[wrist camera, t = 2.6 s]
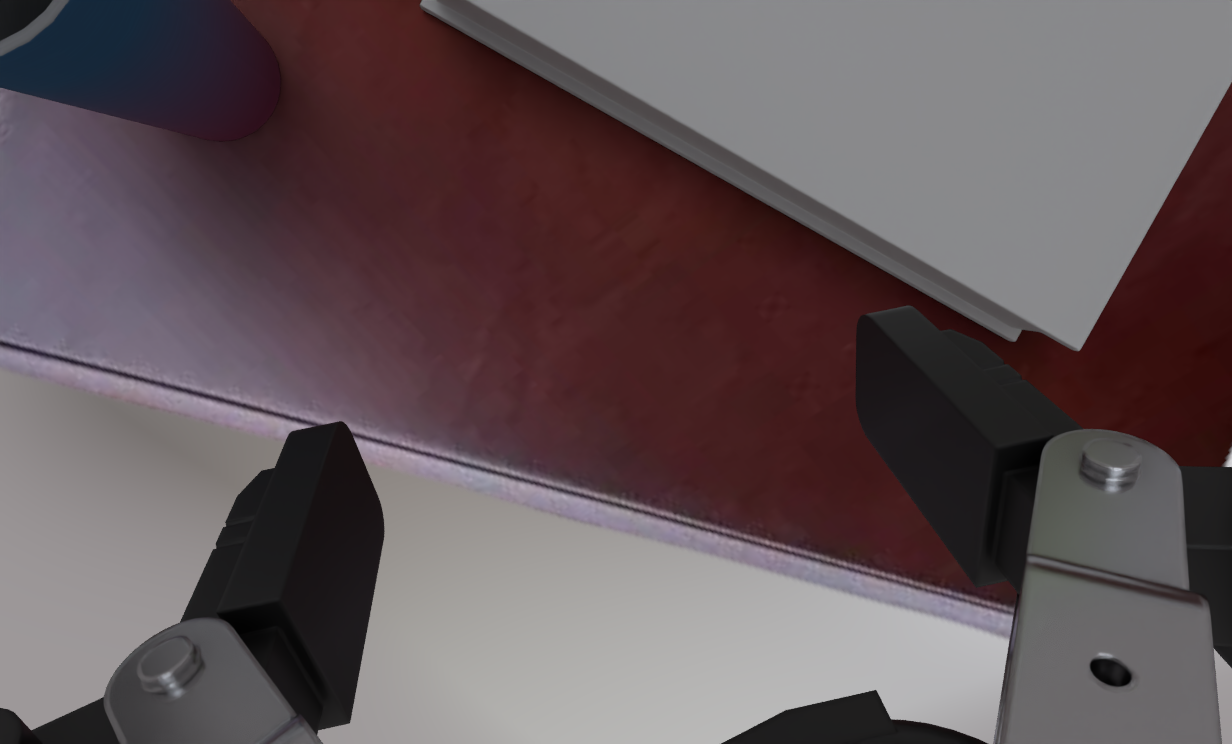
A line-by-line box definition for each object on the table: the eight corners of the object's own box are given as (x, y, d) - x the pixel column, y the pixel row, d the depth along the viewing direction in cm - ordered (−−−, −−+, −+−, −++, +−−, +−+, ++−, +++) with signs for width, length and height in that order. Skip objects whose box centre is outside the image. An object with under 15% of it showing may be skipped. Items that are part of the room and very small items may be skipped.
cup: (117, 144, 24) (-276, 25, 13) (137, -31, 24) (-256, -328, 12) (291, 179, 25) (73, 97, 13) (315, 10, 25) (108, -232, 13)
